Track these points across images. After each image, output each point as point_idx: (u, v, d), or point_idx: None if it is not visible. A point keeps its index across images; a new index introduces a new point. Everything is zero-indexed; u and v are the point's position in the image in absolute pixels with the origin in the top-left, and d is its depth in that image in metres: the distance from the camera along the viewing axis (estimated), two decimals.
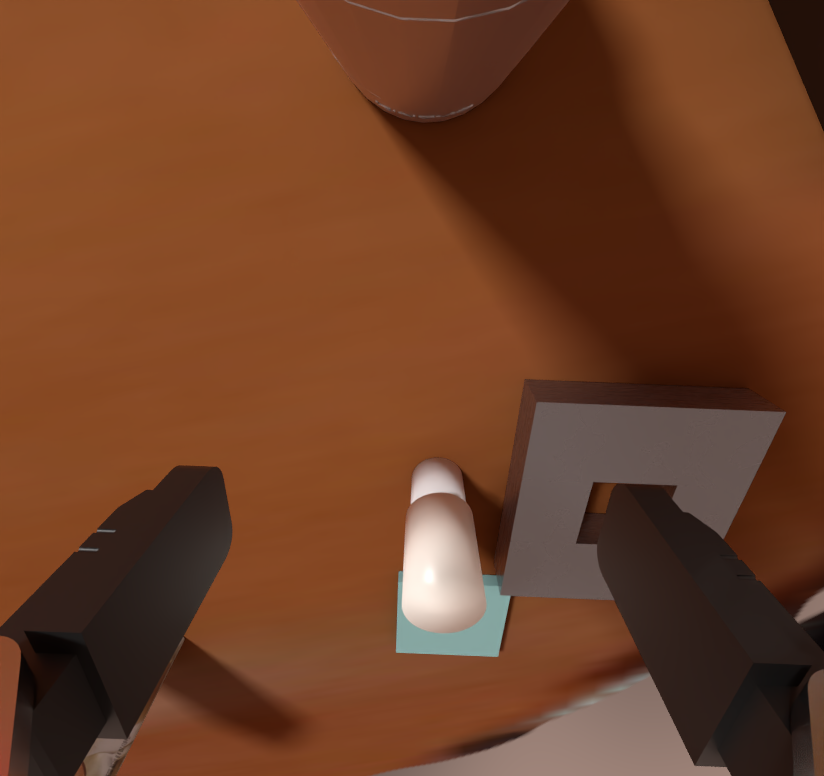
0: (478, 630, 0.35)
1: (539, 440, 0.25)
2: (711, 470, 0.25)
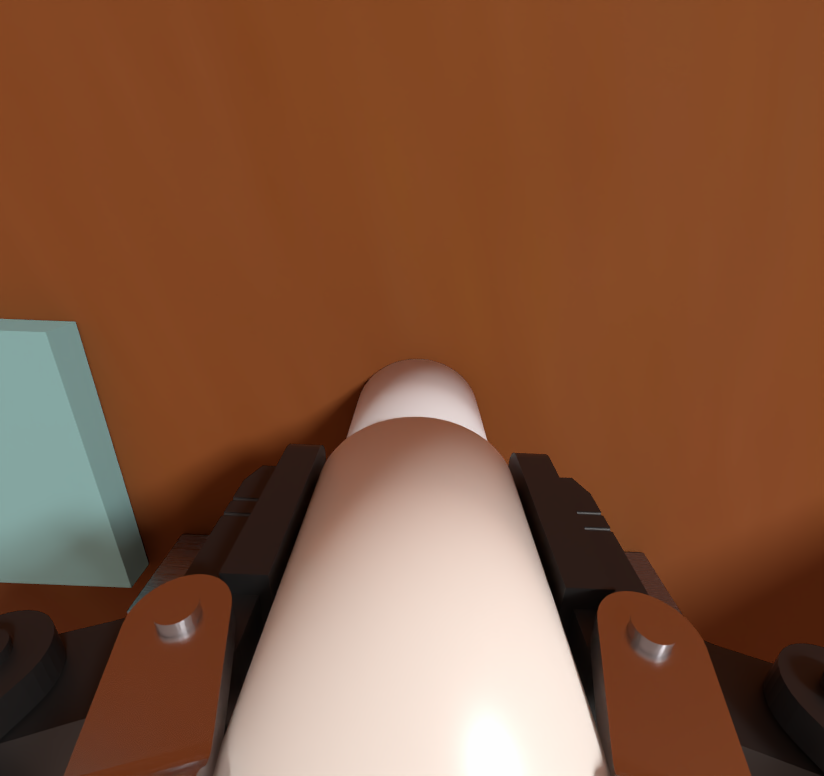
0: None
1: None
2: None
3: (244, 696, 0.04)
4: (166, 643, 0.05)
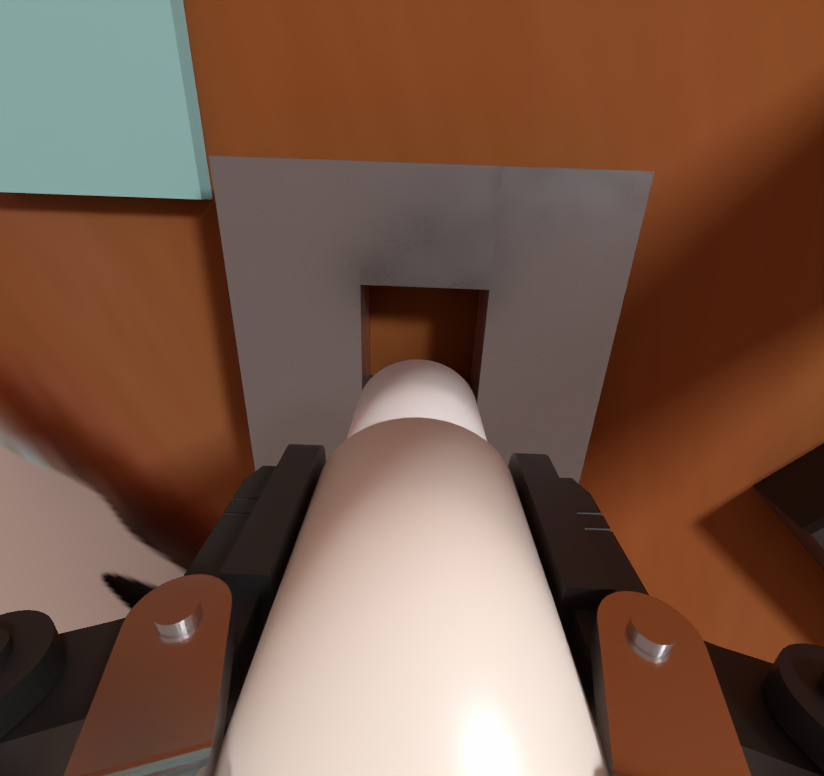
0: (55, 137, 0.17)
1: (580, 187, 0.15)
2: (499, 438, 0.20)
3: (244, 697, 0.04)
4: (167, 643, 0.05)
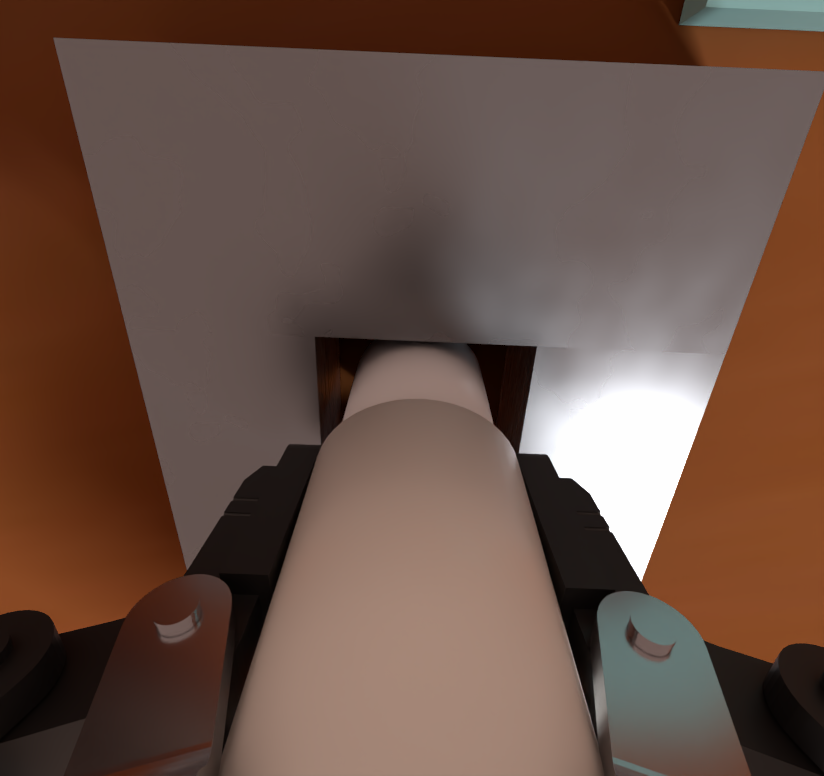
0: None
1: None
2: None
3: (258, 700, 0.04)
4: (166, 643, 0.05)
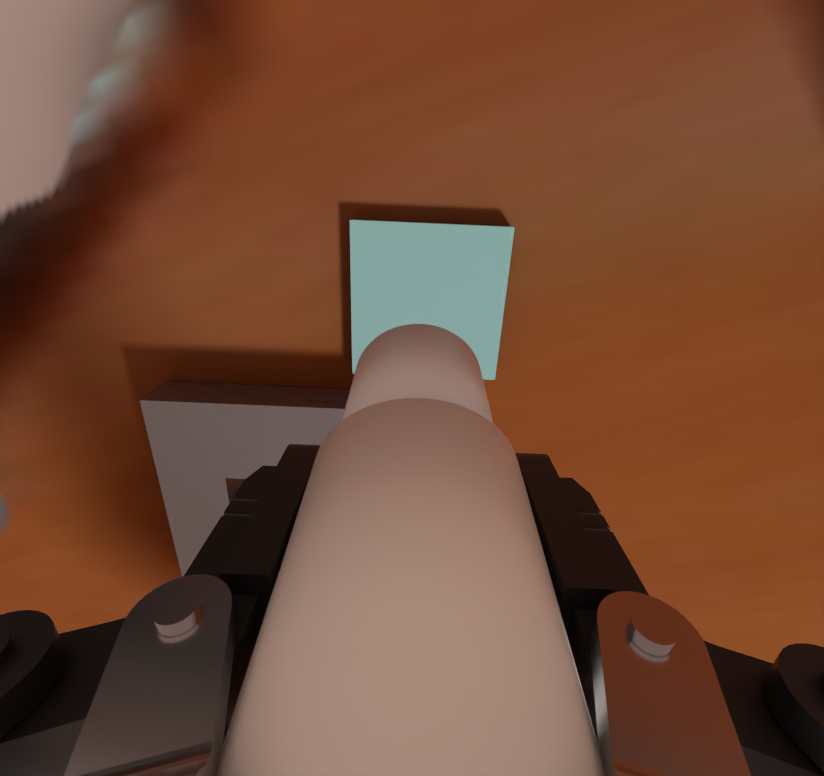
0: (386, 286, 0.24)
1: None
2: None
3: (256, 701, 0.04)
4: (166, 643, 0.05)
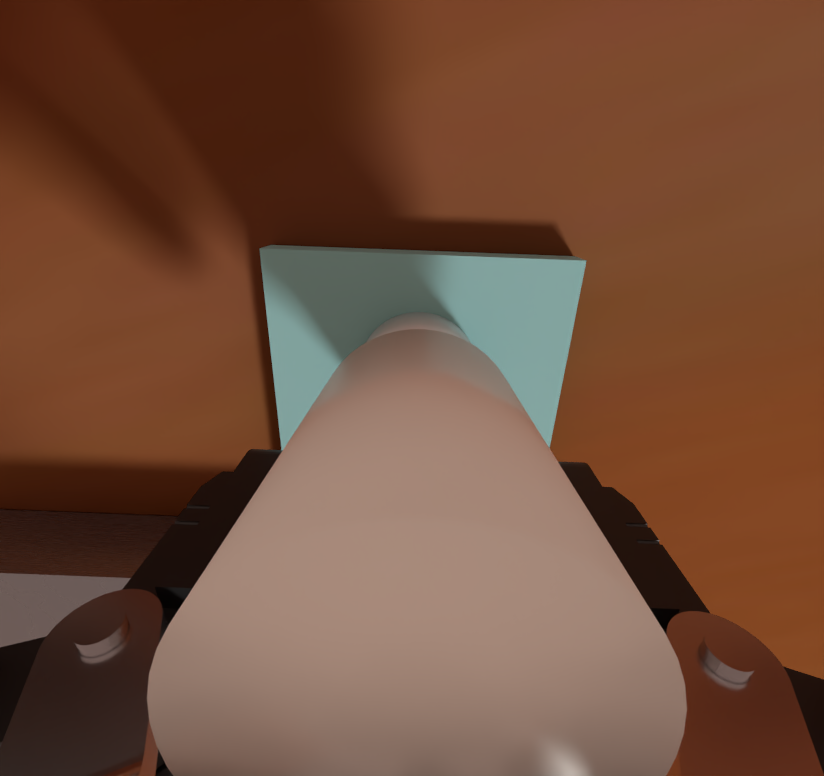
0: None
1: None
2: None
3: (270, 474, 0.04)
4: (85, 663, 0.04)
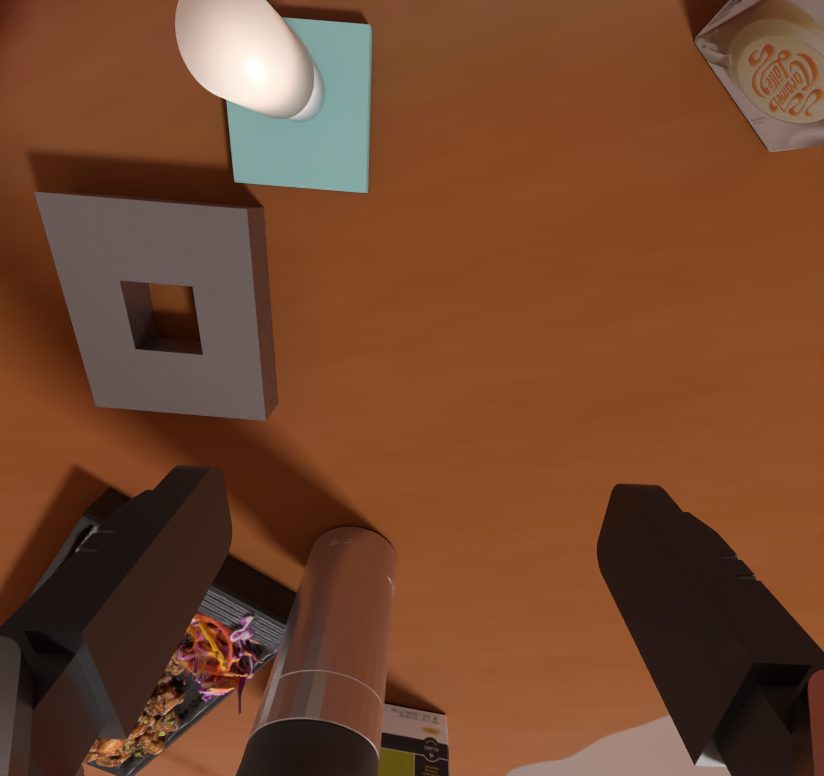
0: None
1: (255, 392, 0.33)
2: (117, 361, 0.33)
3: None
4: None
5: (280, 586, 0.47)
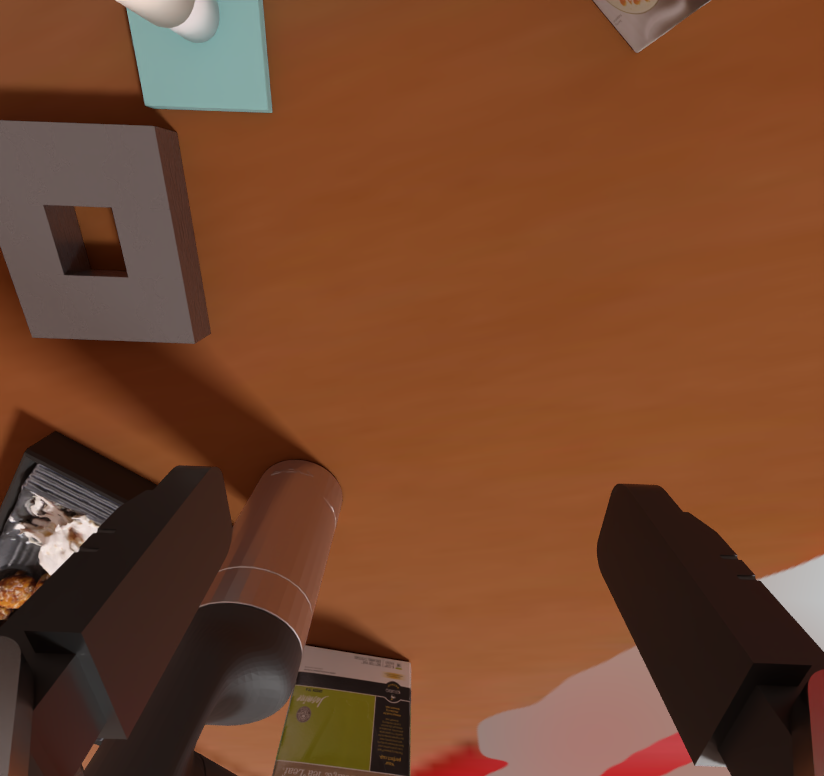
0: None
1: (182, 314, 0.35)
2: (48, 289, 0.34)
3: None
4: None
5: None
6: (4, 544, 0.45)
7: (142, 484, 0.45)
